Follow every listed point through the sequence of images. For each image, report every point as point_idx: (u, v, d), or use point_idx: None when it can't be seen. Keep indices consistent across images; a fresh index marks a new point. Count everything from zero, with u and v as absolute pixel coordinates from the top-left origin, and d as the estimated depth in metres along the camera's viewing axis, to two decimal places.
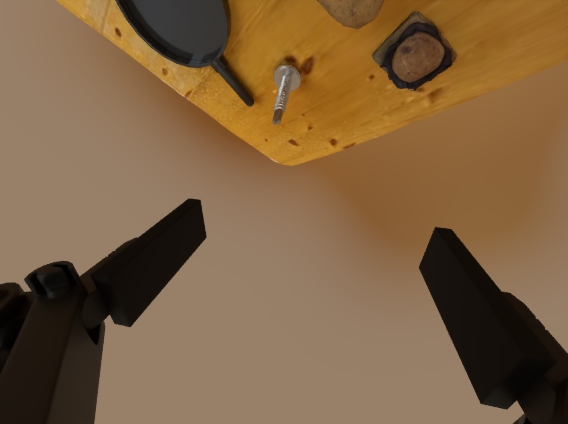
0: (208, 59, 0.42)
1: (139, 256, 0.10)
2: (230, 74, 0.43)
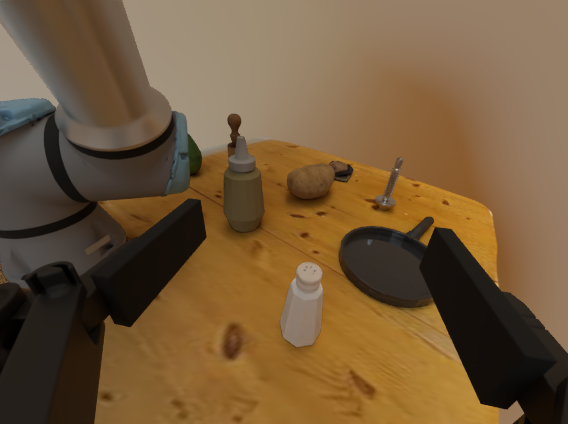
0: (415, 245, 0.44)
1: (139, 256, 0.10)
2: None
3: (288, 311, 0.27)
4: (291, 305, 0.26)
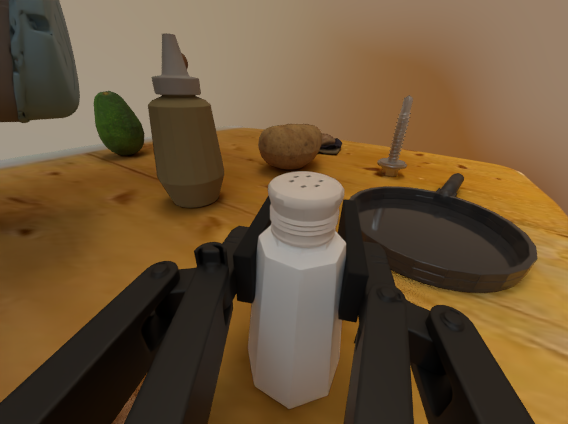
0: (454, 206, 0.30)
1: None
2: None
3: (259, 316, 0.10)
4: (265, 296, 0.09)
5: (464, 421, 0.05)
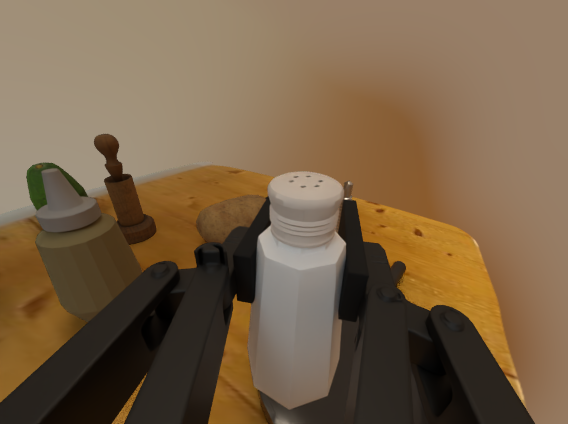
0: None
1: None
2: None
3: (258, 316, 0.10)
4: (264, 296, 0.09)
5: (464, 421, 0.05)
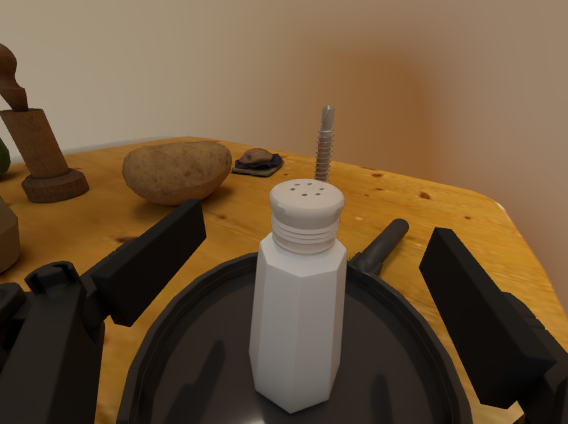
0: (372, 290, 0.18)
1: (140, 256, 0.10)
2: (367, 247, 0.21)
3: (260, 321, 0.10)
4: (266, 302, 0.10)
5: None
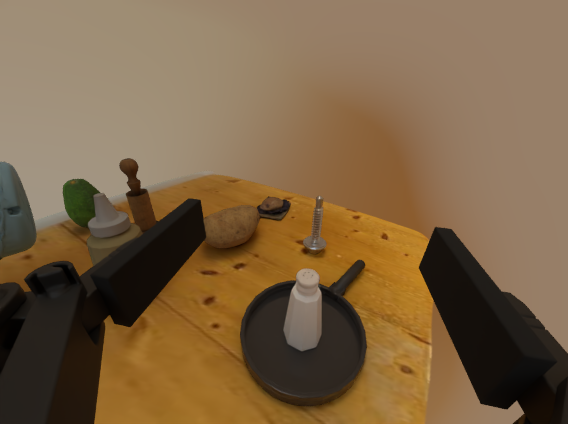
0: (339, 302, 0.37)
1: (139, 256, 0.10)
2: None
3: (291, 316, 0.30)
4: (294, 310, 0.29)
5: None
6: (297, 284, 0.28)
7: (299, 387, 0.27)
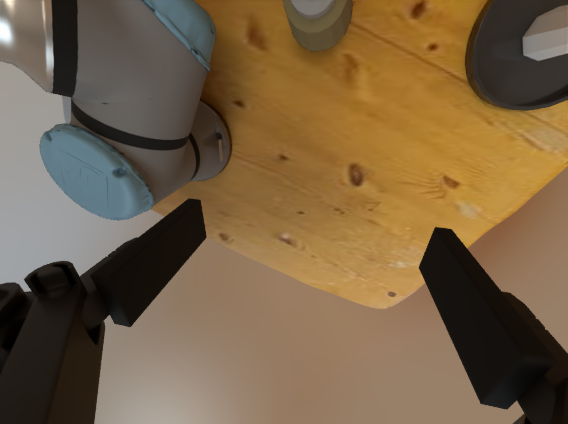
0: None
1: (139, 256, 0.10)
2: None
3: (559, 44, 0.26)
4: None
5: None
6: None
7: (523, 96, 0.32)
